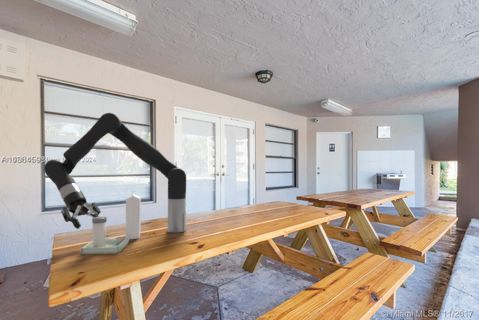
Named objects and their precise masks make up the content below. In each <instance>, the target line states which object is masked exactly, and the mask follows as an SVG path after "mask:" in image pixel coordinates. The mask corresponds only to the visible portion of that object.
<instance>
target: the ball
mask: <svg viewBox="0 0 479 320" xmlns="http://www.w3.org/2000/svg"><path fill="white" fill-rule="evenodd" d="M116 238H117V239H116V240H115V243H116V244H117V245H119V244H120V243H121V242H122V241H123V239H122V238H123V237H121V236H120V237H116Z"/></svg>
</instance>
